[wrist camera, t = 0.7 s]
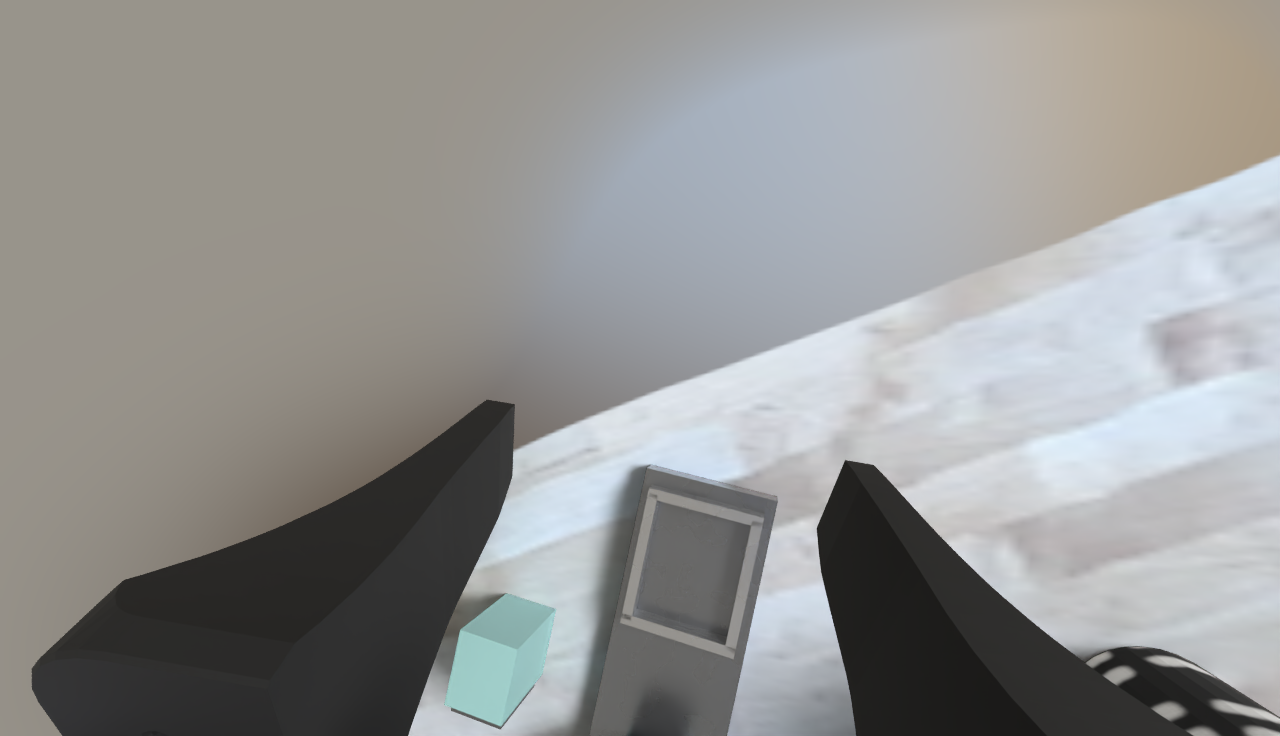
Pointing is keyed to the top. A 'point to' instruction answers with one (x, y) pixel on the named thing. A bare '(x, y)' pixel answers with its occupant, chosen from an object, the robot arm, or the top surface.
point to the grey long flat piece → (684, 607)
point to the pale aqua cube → (499, 659)
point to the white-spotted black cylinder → (1185, 693)
